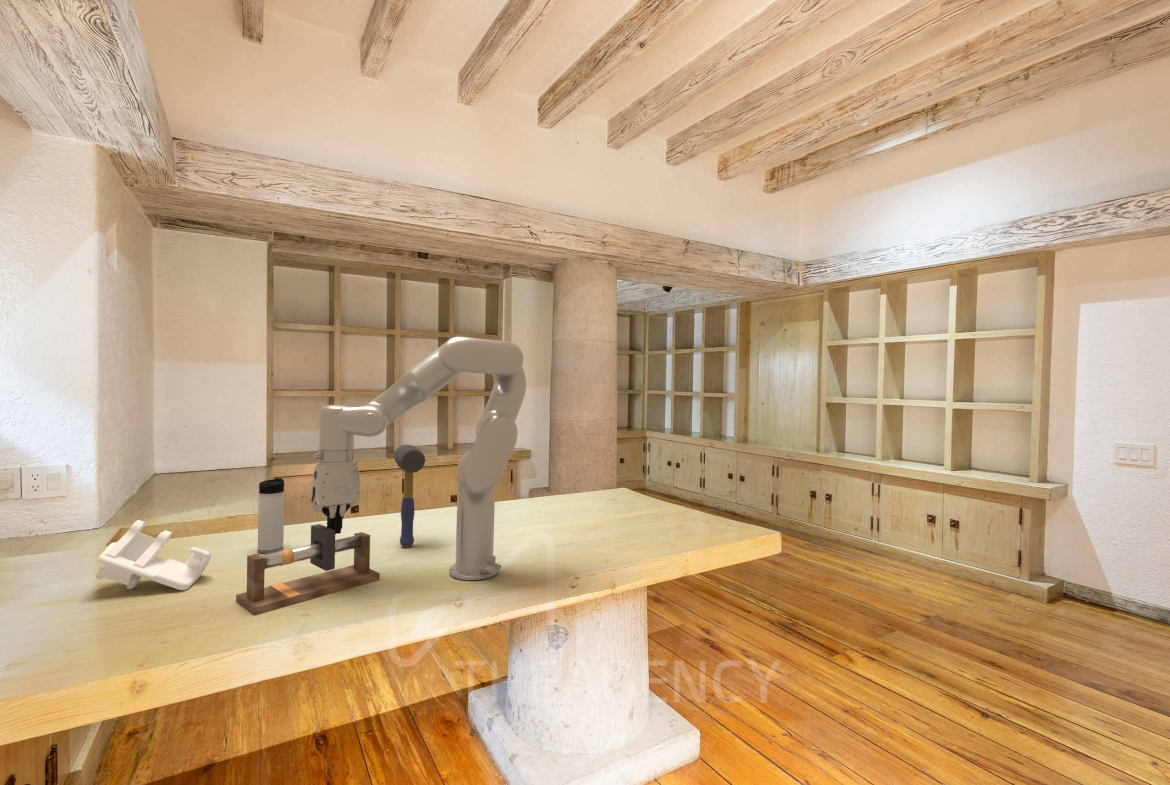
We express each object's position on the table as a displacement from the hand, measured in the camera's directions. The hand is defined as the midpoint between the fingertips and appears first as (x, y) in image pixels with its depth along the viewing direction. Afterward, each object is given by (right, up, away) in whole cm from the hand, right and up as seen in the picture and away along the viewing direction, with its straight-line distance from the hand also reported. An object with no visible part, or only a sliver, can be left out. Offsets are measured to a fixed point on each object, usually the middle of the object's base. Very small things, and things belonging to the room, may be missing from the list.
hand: (334, 532), depth 129 cm
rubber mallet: (+7, -12, +30) cm, 33 cm away
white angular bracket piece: (-40, -12, -4) cm, 42 cm away
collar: (-2, -7, -2) cm, 8 cm away
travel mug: (-29, -11, +23) cm, 39 cm away
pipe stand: (-3, -12, -4) cm, 13 cm away
